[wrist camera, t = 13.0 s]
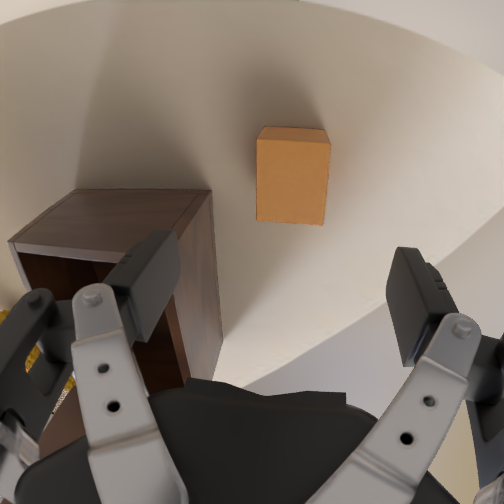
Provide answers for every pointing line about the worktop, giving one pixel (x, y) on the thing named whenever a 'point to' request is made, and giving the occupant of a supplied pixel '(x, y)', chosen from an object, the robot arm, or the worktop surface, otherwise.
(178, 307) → the bin
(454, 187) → the worktop surface
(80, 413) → the bread lid
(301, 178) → the tan cuboid
